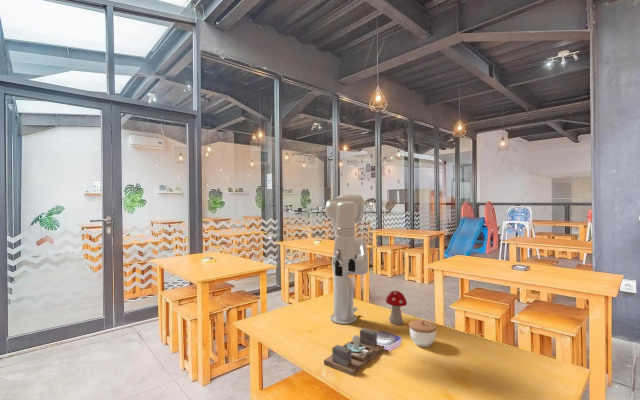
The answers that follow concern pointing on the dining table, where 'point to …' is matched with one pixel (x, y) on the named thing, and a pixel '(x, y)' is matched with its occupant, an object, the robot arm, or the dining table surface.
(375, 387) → the dining table surface
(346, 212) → the robot arm
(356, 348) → the pacifier
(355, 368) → the brown tray
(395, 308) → the decorative mushroom
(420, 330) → the lidded jar
